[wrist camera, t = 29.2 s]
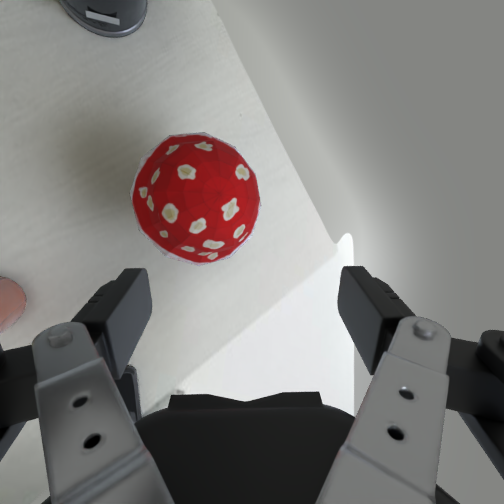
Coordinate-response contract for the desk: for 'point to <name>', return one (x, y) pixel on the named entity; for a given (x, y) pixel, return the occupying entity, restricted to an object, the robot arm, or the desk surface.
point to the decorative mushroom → (195, 198)
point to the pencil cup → (10, 303)
